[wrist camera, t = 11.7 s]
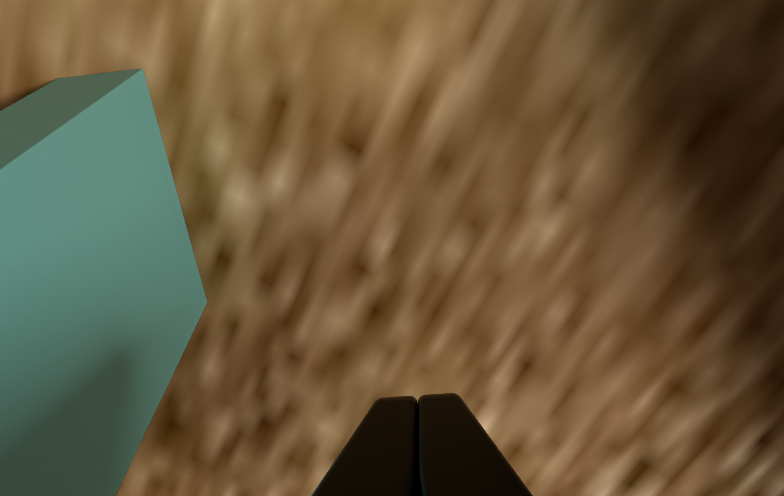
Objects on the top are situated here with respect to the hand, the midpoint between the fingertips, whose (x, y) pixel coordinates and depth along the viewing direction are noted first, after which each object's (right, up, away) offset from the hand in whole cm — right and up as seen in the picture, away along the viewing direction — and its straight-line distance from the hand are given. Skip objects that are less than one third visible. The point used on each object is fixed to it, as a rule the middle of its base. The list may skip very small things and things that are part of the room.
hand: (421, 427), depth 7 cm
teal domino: (-5, +3, +7) cm, 9 cm away
